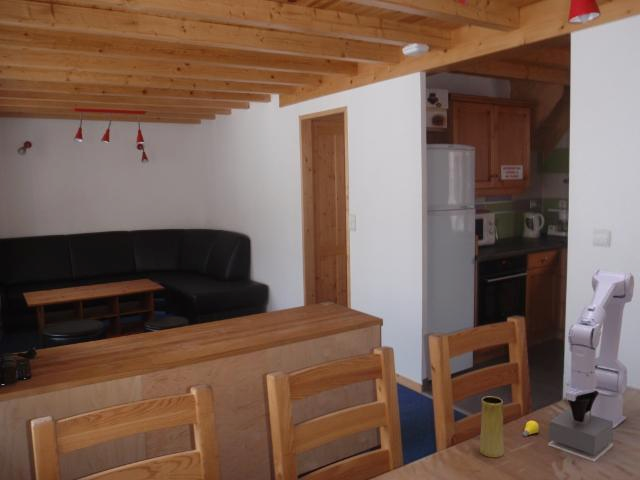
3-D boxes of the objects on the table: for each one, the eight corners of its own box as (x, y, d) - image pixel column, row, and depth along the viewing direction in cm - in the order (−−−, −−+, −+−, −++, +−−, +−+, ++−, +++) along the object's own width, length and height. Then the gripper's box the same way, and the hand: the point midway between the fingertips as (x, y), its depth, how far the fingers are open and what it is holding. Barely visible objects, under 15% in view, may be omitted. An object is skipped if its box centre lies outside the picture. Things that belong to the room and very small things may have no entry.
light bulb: (540, 431, 155) (542, 422, 153) (528, 443, 151) (530, 434, 150) (529, 424, 157) (531, 415, 155) (517, 435, 154) (519, 427, 152)
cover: (568, 425, 154) (569, 398, 153) (612, 439, 145) (613, 410, 145) (549, 439, 146) (550, 410, 145) (594, 454, 138) (595, 424, 137)
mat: (567, 430, 154) (567, 429, 154) (613, 445, 146) (613, 444, 146) (547, 445, 147) (548, 443, 147) (594, 461, 138) (594, 460, 138)
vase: (505, 458, 140) (506, 405, 138) (480, 456, 141) (481, 404, 140) (502, 447, 146) (503, 396, 144) (478, 445, 147) (479, 394, 146)
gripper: (579, 359, 151) (577, 406, 153) (555, 372, 142) (553, 422, 143) (606, 365, 146) (604, 413, 148) (583, 379, 137) (581, 431, 138)
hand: (581, 418), depth 145 cm, fingers closed on cover, 3 cm apart
